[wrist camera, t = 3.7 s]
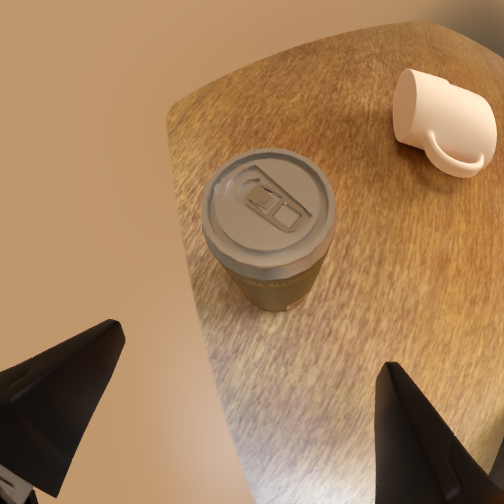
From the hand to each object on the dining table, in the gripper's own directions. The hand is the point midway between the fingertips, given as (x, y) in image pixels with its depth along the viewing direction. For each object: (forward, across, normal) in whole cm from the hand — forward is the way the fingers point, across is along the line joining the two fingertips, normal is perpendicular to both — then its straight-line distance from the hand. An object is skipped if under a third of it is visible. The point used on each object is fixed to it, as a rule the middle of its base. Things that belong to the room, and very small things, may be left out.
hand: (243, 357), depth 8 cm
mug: (+24, -15, -6) cm, 29 cm away
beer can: (+12, 0, +5) cm, 13 cm away
